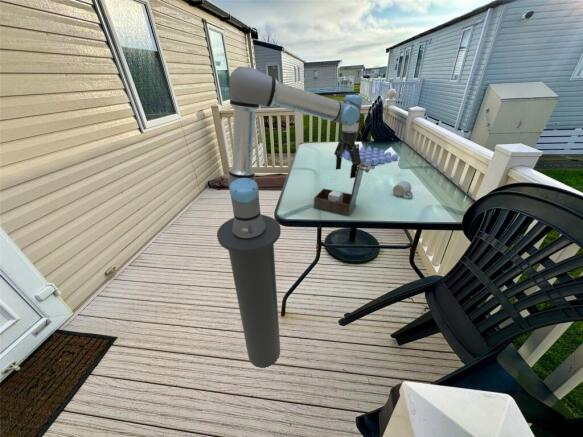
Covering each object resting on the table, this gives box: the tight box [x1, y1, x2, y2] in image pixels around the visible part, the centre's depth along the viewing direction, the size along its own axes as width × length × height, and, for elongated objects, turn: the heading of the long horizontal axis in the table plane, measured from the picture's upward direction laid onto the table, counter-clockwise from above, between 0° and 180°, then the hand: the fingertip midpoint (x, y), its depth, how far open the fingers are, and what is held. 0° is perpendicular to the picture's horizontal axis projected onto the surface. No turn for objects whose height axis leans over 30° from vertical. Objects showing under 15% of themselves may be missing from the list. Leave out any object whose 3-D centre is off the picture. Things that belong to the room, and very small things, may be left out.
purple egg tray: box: [341, 145, 399, 167], centre depth 203 cm, size 35×34×5 cm
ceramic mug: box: [392, 180, 414, 200], centre depth 141 cm, size 11×8×8 cm
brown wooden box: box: [313, 188, 358, 217], centre depth 131 cm, size 19×13×6 cm
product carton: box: [328, 189, 344, 203], centre depth 131 cm, size 6×6×7 cm
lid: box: [349, 158, 373, 205], centre depth 119 cm, size 20×13×5 cm
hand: (345, 173), depth 128 cm, fingers open, 13 cm apart
